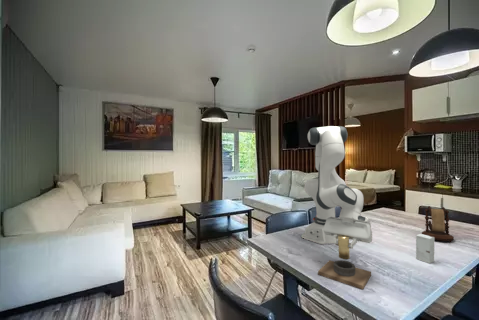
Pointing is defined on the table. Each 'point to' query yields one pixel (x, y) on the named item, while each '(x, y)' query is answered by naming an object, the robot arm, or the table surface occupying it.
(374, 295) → the table surface
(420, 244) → the skincare box
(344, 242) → the cylinder
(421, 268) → the table surface
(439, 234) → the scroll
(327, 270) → the ring holder
